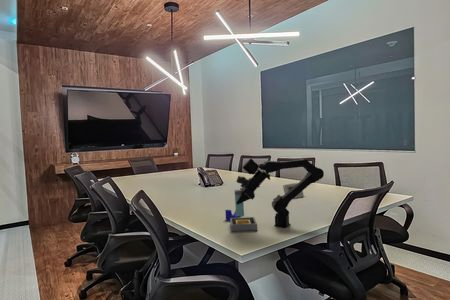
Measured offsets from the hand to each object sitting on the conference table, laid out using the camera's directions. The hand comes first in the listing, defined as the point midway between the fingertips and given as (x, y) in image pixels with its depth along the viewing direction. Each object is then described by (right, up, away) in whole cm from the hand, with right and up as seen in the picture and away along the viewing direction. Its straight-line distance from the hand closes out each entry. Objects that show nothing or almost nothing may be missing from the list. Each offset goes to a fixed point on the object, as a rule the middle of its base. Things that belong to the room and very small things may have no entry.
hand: (236, 202), depth 155 cm
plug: (+2, -7, 0) cm, 7 cm away
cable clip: (0, -13, +19) cm, 23 cm away
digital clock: (+45, -9, +67) cm, 82 cm away
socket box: (+4, -13, +1) cm, 14 cm away
